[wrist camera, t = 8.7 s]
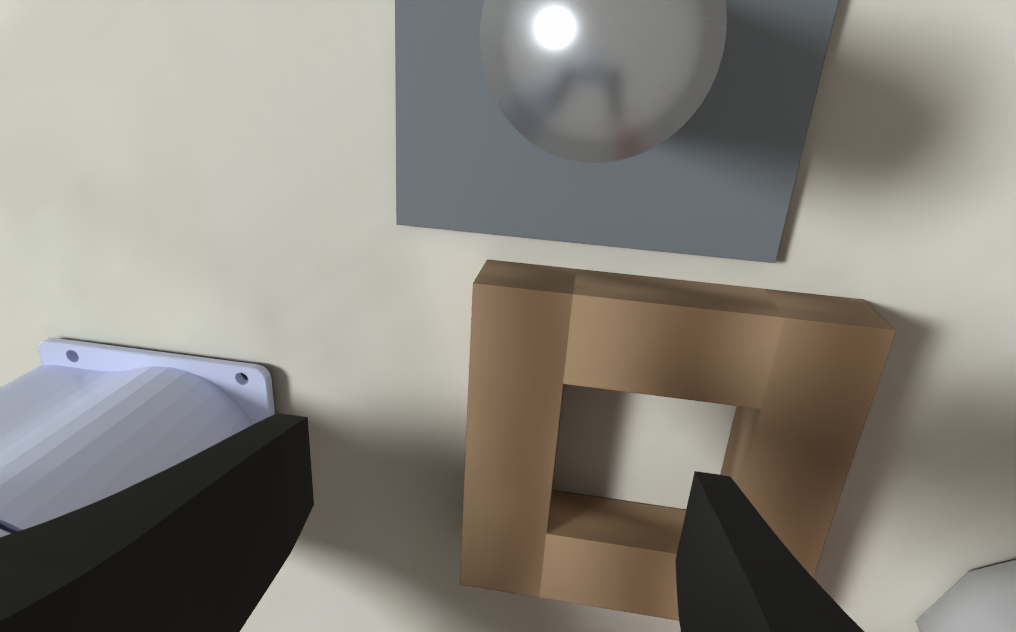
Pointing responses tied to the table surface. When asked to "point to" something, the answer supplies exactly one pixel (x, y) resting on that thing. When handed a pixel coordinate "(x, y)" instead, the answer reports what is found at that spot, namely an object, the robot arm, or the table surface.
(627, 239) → the slate mat
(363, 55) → the table surface
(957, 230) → the table surface
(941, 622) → the flask
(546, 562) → the pocket block
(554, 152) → the peg
